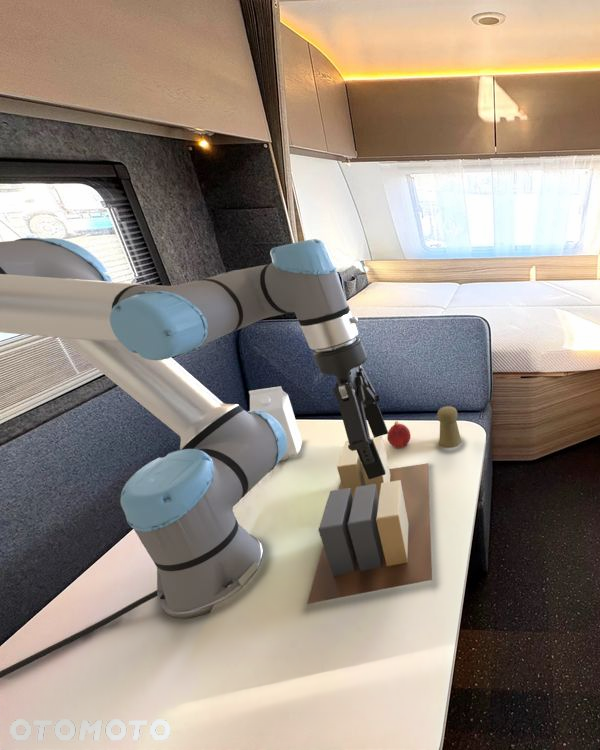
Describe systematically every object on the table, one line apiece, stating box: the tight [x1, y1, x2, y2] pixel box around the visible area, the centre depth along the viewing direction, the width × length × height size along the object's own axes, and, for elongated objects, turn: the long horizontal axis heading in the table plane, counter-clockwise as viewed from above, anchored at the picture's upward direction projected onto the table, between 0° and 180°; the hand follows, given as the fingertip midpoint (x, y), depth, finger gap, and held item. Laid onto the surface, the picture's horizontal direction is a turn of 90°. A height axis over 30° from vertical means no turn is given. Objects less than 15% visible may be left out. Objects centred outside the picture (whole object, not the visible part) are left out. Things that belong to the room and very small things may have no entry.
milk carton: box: [248, 385, 303, 462], centre depth 98 cm, size 7×7×19 cm
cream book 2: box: [361, 435, 390, 497], centre depth 83 cm, size 4×9×11 cm, turn 11°
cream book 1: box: [336, 440, 366, 499], centre depth 83 cm, size 4×9×11 cm, turn 11°
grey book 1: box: [317, 488, 357, 576], centre depth 68 cm, size 4×9×11 cm, turn 11°
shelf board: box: [307, 463, 433, 605], centre depth 78 cm, size 20×32×1 cm, turn 11°
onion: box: [386, 420, 412, 449], centre depth 100 cm, size 6×6×8 cm
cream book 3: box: [376, 480, 408, 566], centre depth 70 cm, size 4×9×11 cm, turn 11°
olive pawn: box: [436, 405, 462, 449], centre depth 100 cm, size 6×6×11 cm
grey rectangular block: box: [348, 484, 383, 571], centre depth 69 cm, size 4×9×11 cm, turn 11°
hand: (379, 453), depth 69 cm, fingers open, 13 cm apart
